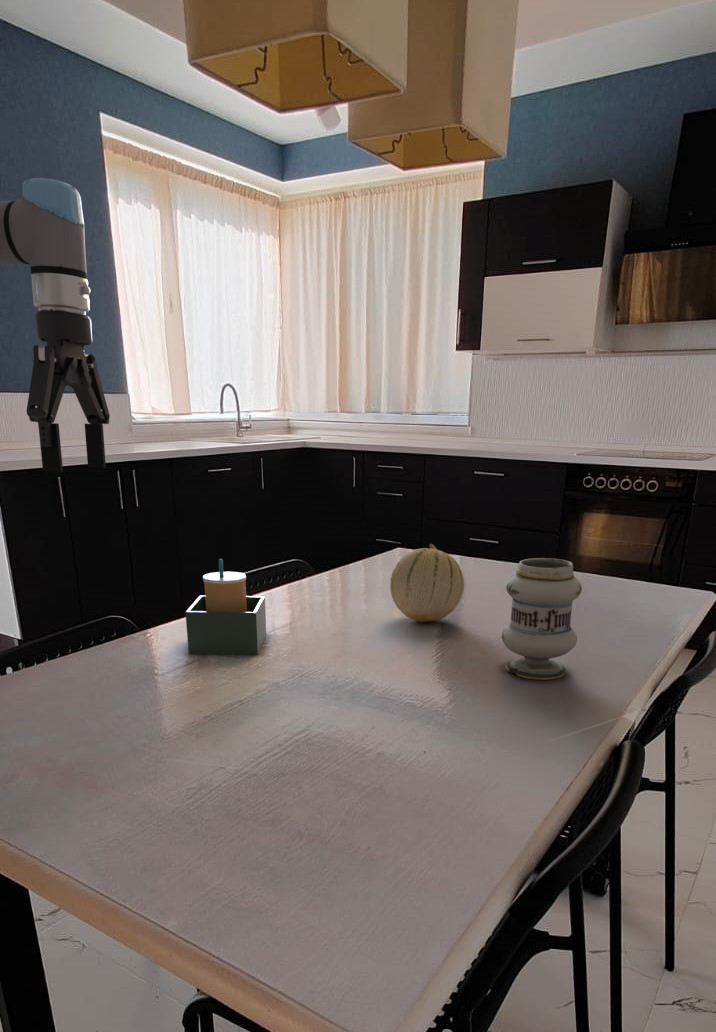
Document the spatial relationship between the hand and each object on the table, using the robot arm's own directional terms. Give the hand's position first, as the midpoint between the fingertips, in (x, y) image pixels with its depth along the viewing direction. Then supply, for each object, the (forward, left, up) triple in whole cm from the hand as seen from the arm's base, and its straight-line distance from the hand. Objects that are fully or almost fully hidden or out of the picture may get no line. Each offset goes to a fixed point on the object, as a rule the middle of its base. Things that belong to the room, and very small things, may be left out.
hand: (76, 469), depth 118 cm
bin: (-5, +23, -31) cm, 39 cm away
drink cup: (-5, +22, -31) cm, 38 cm away
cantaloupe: (-10, +64, -31) cm, 72 cm away
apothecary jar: (+25, +69, -31) cm, 80 cm away
